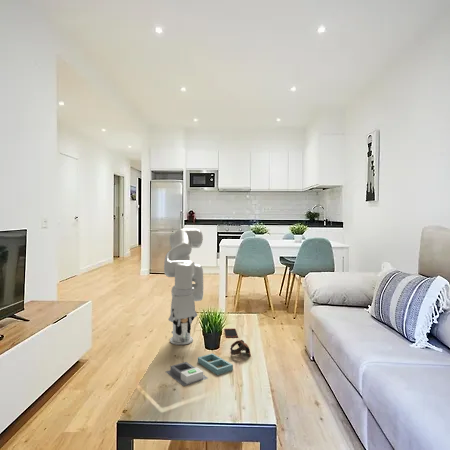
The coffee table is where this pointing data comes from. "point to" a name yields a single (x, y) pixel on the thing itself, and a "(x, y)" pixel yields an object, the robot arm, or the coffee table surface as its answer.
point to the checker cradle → (186, 373)
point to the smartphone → (230, 333)
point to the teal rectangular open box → (215, 364)
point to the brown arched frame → (240, 348)
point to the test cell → (184, 330)
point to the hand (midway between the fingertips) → (183, 332)
